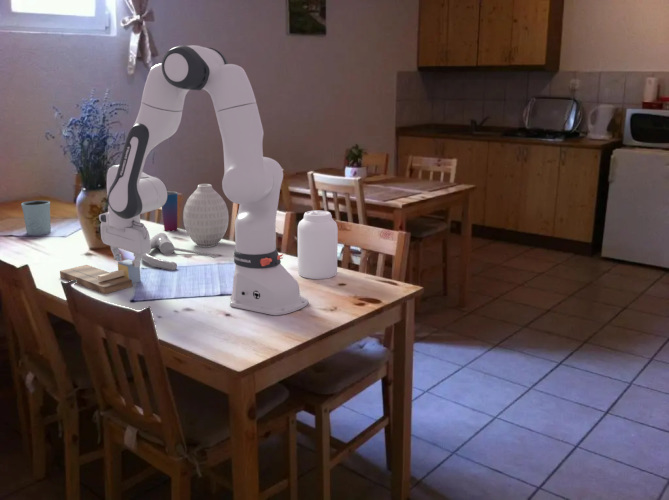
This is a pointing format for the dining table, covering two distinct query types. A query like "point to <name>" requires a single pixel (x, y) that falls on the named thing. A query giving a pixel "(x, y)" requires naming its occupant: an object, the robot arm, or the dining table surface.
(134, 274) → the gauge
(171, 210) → the cup
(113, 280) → the board
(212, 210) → the vase
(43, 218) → the pale blue tumbler
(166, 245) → the faucet
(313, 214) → the white jar
